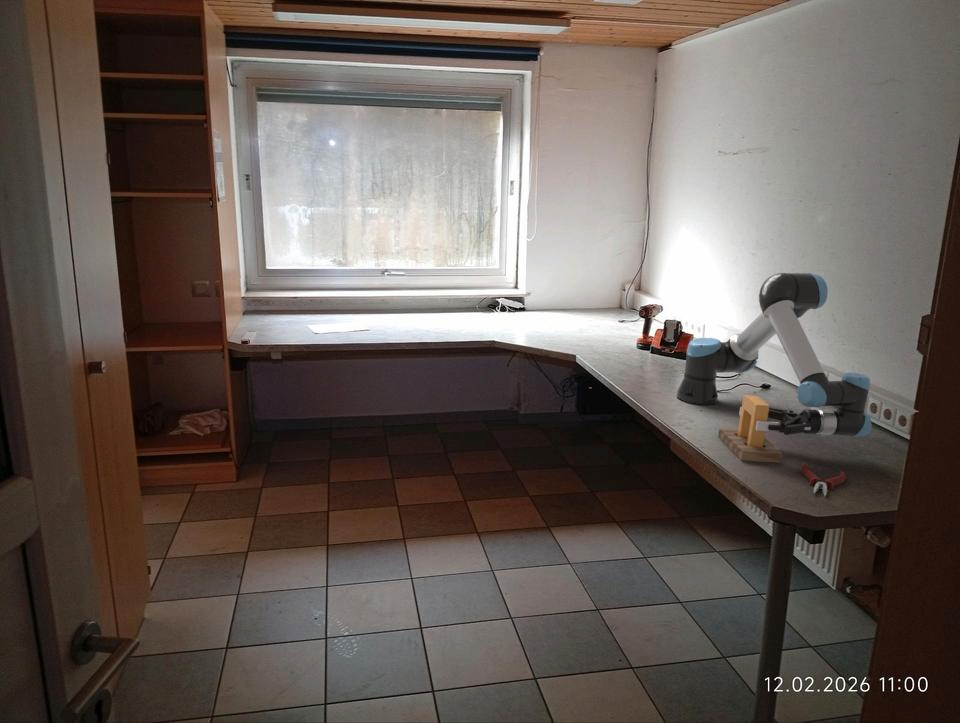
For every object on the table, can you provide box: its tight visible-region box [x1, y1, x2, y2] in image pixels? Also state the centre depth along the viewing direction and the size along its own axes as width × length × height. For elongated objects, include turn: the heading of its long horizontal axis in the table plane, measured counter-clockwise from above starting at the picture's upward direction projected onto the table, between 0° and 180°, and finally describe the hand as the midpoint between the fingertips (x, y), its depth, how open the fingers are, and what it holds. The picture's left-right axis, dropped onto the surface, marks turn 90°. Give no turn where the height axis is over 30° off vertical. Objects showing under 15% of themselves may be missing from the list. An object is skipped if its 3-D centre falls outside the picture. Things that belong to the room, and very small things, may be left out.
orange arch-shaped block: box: [737, 394, 770, 447], centre depth 212 cm, size 10×4×16 cm, turn 0°
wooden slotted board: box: [717, 427, 783, 464], centre depth 214 cm, size 20×12×3 cm, turn 0°
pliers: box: [800, 463, 846, 497], centre depth 190 cm, size 12×20×3 cm, turn 151°
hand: (747, 418), depth 211 cm, fingers open, 13 cm apart
